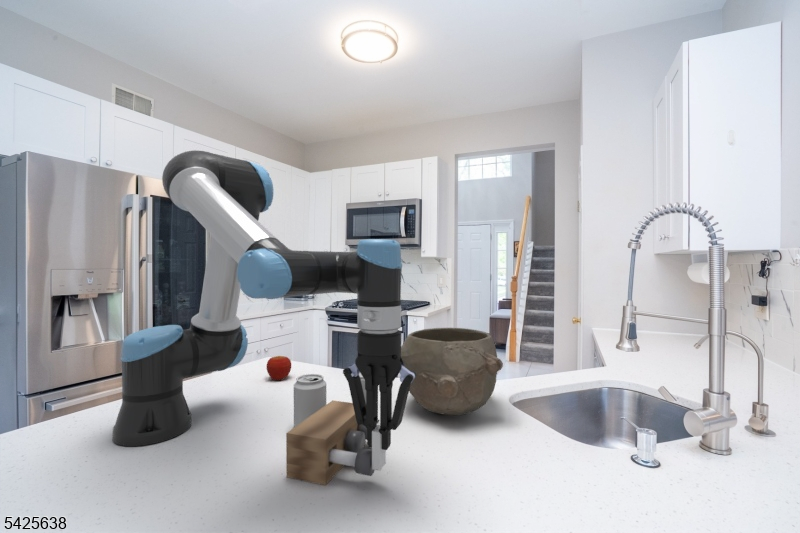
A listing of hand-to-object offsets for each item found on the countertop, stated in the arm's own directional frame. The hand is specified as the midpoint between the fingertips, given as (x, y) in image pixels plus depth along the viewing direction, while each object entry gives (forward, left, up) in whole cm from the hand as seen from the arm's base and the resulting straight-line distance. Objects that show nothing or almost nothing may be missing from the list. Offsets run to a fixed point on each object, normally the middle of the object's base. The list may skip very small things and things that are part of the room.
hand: (378, 465), depth 66 cm
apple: (-54, +45, -4) cm, 71 cm away
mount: (-13, +6, -4) cm, 15 cm away
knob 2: (-6, 0, -2) cm, 7 cm away
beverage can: (-13, +22, -4) cm, 26 cm away
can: (-24, +16, -4) cm, 29 cm away
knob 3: (-12, +12, -2) cm, 17 cm away
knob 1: (-11, +6, -2) cm, 13 cm away
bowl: (+4, +38, -4) cm, 39 cm away
